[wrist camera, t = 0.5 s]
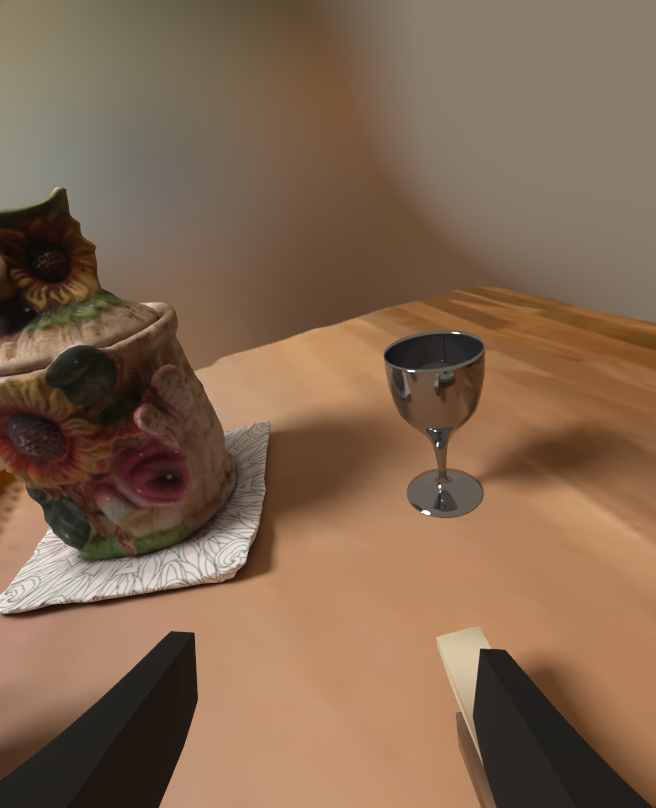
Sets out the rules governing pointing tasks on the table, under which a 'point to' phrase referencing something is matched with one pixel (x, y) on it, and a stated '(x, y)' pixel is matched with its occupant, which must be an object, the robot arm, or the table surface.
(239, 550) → the cookie jar
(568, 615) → the table surface
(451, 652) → the beige rectangular bar
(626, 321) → the table surface
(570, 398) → the table surface
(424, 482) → the silver goblet
